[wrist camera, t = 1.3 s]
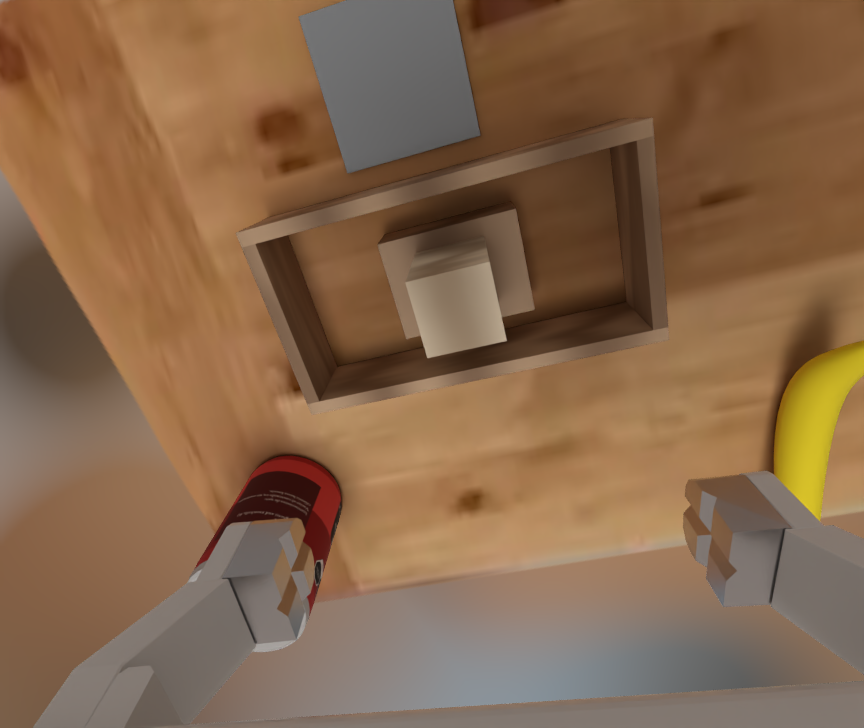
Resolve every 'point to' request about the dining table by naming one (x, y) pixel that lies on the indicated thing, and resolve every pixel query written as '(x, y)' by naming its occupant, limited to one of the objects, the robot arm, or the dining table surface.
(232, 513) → the canned food
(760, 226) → the dining table surface
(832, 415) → the banana
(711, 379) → the dining table surface
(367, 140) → the mat
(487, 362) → the crate
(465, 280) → the block
